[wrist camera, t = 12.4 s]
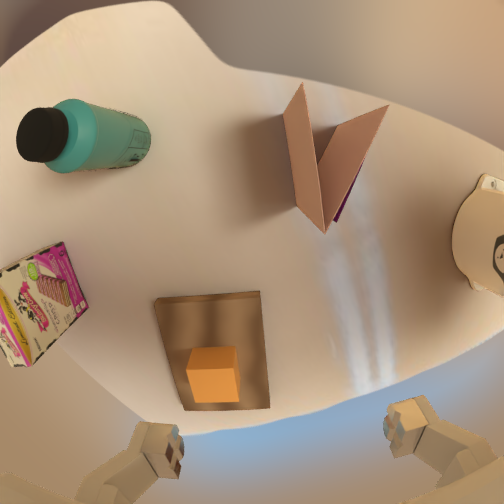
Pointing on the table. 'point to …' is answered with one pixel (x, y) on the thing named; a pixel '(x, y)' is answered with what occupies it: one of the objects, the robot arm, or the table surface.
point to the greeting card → (326, 160)
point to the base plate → (217, 342)
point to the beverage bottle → (82, 137)
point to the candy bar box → (37, 304)
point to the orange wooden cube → (214, 374)
